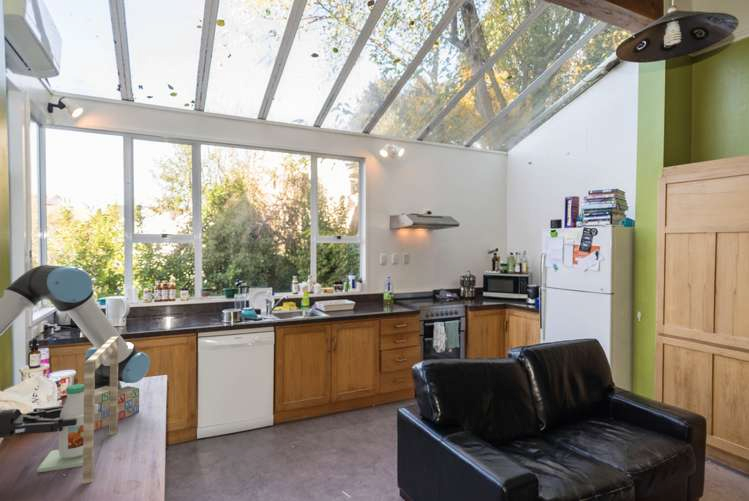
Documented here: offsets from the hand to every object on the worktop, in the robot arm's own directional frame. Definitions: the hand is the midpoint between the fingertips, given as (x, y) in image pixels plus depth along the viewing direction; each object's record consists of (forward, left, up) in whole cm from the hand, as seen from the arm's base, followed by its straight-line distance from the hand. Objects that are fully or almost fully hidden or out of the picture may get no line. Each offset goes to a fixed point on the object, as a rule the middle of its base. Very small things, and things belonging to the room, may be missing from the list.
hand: (94, 413), depth 126 cm
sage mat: (+2, -7, -13) cm, 15 cm away
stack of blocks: (-26, -9, -13) cm, 30 cm away
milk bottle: (+1, -5, -11) cm, 12 cm away
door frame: (-1, +2, -13) cm, 13 cm away
